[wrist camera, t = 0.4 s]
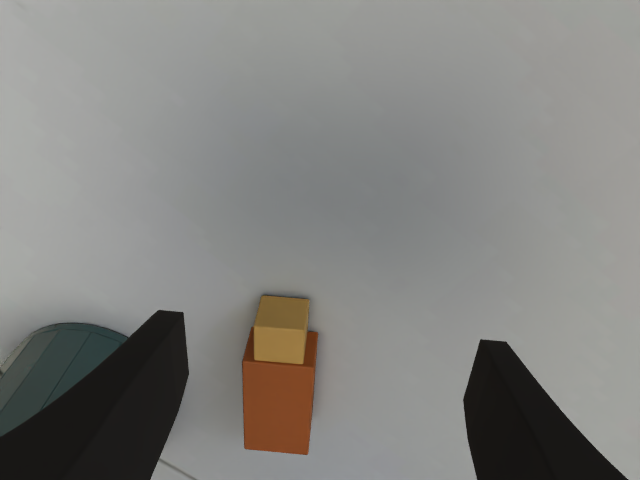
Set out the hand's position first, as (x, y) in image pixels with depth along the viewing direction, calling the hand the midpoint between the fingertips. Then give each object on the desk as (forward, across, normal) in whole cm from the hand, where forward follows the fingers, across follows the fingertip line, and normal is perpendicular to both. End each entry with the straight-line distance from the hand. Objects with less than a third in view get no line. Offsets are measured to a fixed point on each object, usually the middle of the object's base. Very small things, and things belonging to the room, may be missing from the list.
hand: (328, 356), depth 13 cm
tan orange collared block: (+10, +2, +10) cm, 14 cm away
